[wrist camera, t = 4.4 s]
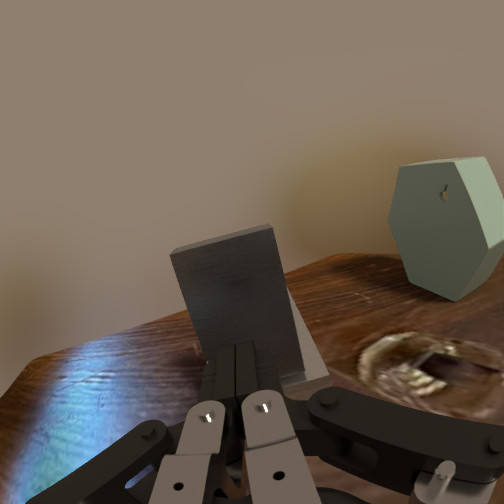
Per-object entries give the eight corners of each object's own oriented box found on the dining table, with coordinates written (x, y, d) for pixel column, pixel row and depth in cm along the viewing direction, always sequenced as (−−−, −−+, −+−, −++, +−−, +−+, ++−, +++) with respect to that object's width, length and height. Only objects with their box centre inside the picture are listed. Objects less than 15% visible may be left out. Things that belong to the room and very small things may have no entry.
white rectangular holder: (336, 427, 19) (321, 325, 17) (226, 452, 19) (179, 359, 17) (296, 329, 37) (279, 256, 34) (229, 345, 37) (206, 275, 34)
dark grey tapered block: (305, 371, 18) (272, 227, 16) (219, 391, 18) (169, 254, 16) (282, 309, 29) (258, 211, 27) (224, 323, 29) (195, 228, 27)
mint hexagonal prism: (470, 304, 35) (532, 196, 20) (439, 324, 33) (509, 208, 19) (412, 234, 46) (441, 127, 31) (379, 245, 45) (405, 129, 30)
